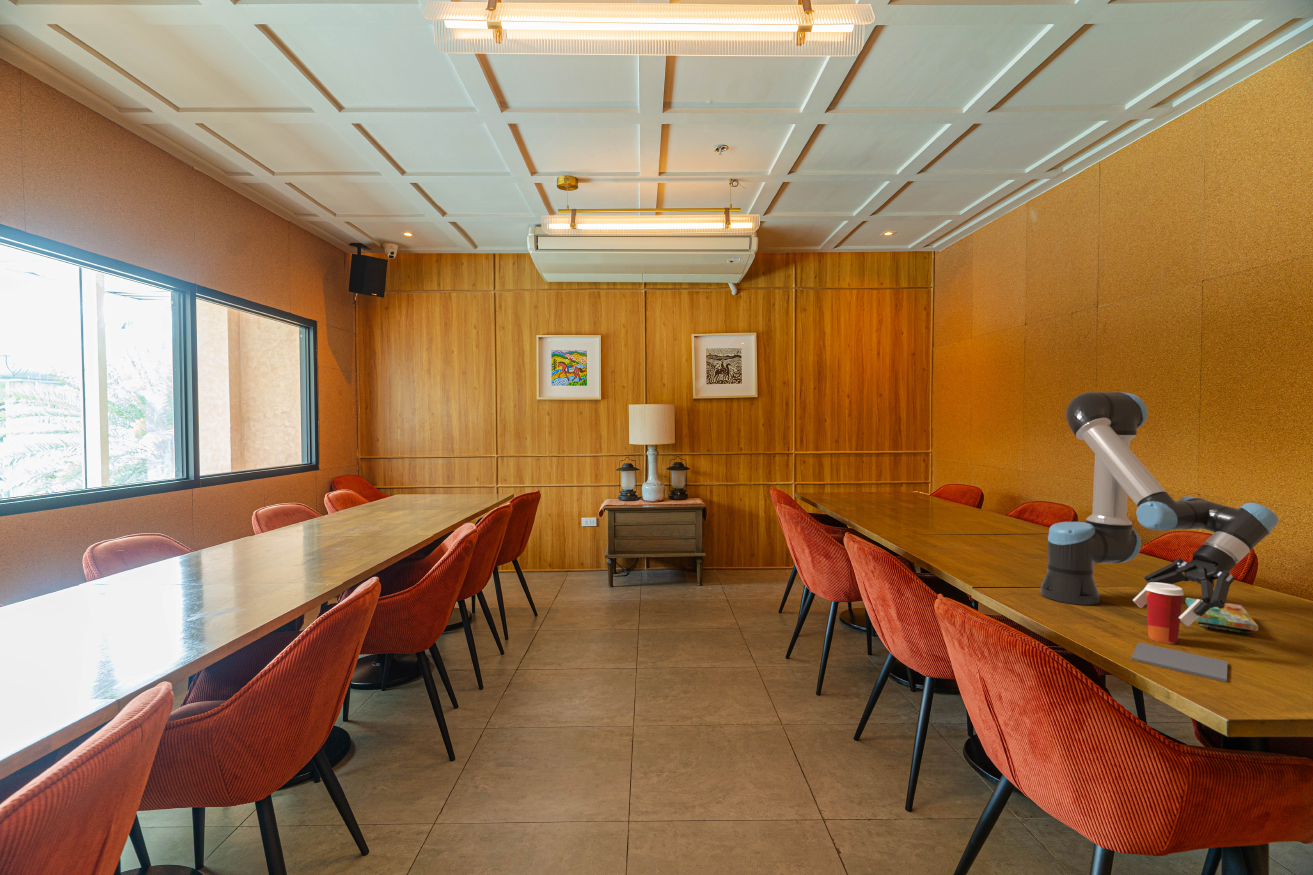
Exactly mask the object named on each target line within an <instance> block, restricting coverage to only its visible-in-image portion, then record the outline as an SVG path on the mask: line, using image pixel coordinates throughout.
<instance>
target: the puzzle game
mask: <svg viewBox="0 0 1313 875" xmlns="http://www.w3.org/2000/svg"><path fill="white" fill-rule="evenodd" d="M1197 599H1199V598H1191V597H1186V598H1185V604H1186V606H1187V609H1188V608H1189V607H1190V606H1191V605H1192V604H1193V603H1194V602H1195V601H1196V600H1197ZM1199 600H1201V601H1202V602H1203V600H1202V599H1201V598H1200V599H1199ZM1195 622H1196V623H1197V625H1198V626H1199V627H1201V626H1202V627H1203V628H1208V627H1210V628H1209V629H1214V628H1215V630H1221V629H1222V631H1227V630H1229V631H1228V632H1233V631H1234V632H1233V633H1240V632H1241V634H1246V633H1247V634H1246V635H1248V634H1250V633H1252V632H1253V631H1255V632H1256V631H1257V632H1258V631H1259V625H1258V624H1257V623H1256V622H1255V620H1254V619H1253V618H1252V617H1251V615H1250V614H1249V613H1248V612H1247V610H1246V609H1245V608H1244V607H1243V605H1242V604H1236V603H1228V602H1227V603H1226V602H1225V606H1224V608H1222V609H1219V608H1218V607H1213V608H1210V609H1209V610H1208V611H1207V612H1206V613H1205V614H1204V615H1202V616H1199V617H1198V618H1197V619H1196V620H1195Z"/></svg>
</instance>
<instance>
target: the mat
mask: <svg viewBox="0 0 1313 875" xmlns="http://www.w3.org/2000/svg"><path fill="white" fill-rule="evenodd" d="M1130 659H1133V660H1137V661H1140V662H1139V663H1142V662H1145V663H1144V664H1146V663H1147V665H1150V664H1151V665H1150V666H1155V667H1160V668H1163V667H1164V668H1165V669H1167V668H1168V670H1172V671H1177V672H1181V673H1184V674H1191V675H1194V676H1199V677H1202V678H1208V679H1212V680H1216V681H1221V682H1224V683H1227V682H1228V661H1227V660H1223V659H1218V658H1213V657H1209V656H1203V655H1199V654H1194V653H1191V652H1185V651H1181V650H1176V649H1170V648H1165V647H1161V646H1156V645H1153V644H1147V643H1144V642H1137V644H1136V647H1135V648H1134V650H1133V654H1132V655H1131V658H1130ZM1133 660H1132V661H1133ZM1137 661H1136V662H1137ZM1164 668H1163V669H1164Z"/></svg>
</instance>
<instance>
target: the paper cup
mask: <svg viewBox="0 0 1313 875" xmlns="http://www.w3.org/2000/svg"><path fill="white" fill-rule="evenodd" d="M1145 586H1146V587H1145ZM1145 586H1144V587H1145V590H1146V595H1147V603H1146V616H1147V619H1146V620H1147V634H1148V639H1149V638H1150V639H1149V640H1152V641H1153V642H1156V641H1157V642H1156V643H1160V644H1166V645H1176V644H1177V643H1178V641H1179V632H1180V624H1181V620H1180V619H1179V617H1180V616H1181V615H1182V605H1183V597H1184V595H1185V592H1184V590H1183V588H1182V587H1180V586H1178V585H1175V584H1166V583H1158V582H1150V583H1148V582H1147V584H1146V585H1145Z"/></svg>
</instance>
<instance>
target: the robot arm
mask: <svg viewBox="0 0 1313 875" xmlns="http://www.w3.org/2000/svg"><path fill="white" fill-rule="evenodd" d="M1065 410H1066V411H1065V420H1066V423H1067V425H1068V428H1069V429H1070V430H1071V432H1072V433H1073V435H1074V436H1075V437H1076V438H1077V440H1081V441H1084V442H1085V443H1086V445H1087V446H1088V447H1089V449H1091V450H1092V452H1093V453H1094V468H1093V470H1094V471H1093V490H1092V491H1093V494H1092V512H1091V513H1092V514H1090V515H1089V516H1088V517H1086V518H1085V522H1083V521H1062V522H1057V523H1056V522H1055V523H1052V525H1050V527H1049V529H1048V536H1047V570H1046V573H1045V575H1044V579H1043V581H1042V582H1041V585H1040V594H1041V595H1042V596H1043V597H1044V598H1047V599H1050V600H1053V601H1055V602H1060V603H1065V604H1071V605H1082V606H1086V605H1089V606H1090V605H1091V606H1092V605H1098V604H1099V603H1100V593H1099V589H1098V587H1097V584H1096V582H1095V578H1094V565H1099V564H1121V563H1125V562H1130V561H1132V560H1133V559H1135V558H1136V557H1137V556H1138V554H1139V553H1140V552H1141V547H1142V541H1141V540H1142V539H1141V537H1140V535H1138V531H1137V530H1136V529H1135V528H1133V521H1131V520H1130V519H1129V518H1128V517H1127V512H1128V496H1129V498H1131V500H1132V501H1133V503H1135V505H1136V507H1137V508H1136V512H1135V514H1136V516H1137V518H1136V519H1137V522H1138V523H1139V524H1140V525H1141V526H1142V527H1144V528H1145V529H1148V530H1151V531H1162V532H1163V531H1164V532H1166V531H1172V530H1173V531H1174V530H1199V529H1200V530H1201V529H1202V530H1205V531H1209V532H1213V534H1212V535H1211V536H1209V537H1208V538H1207V539H1206V540H1205V541H1204V543H1203V544H1201V545H1200V546H1199V547H1198V548H1197V549H1196V550H1195V551H1194V552H1193V554H1192V559H1191V560H1189V561H1187V562H1186V561H1185V560H1183V559H1182V557H1181V558H1180V557H1179V558H1176V559H1174V561H1173V562H1171V563H1170V564H1167V565H1166V566H1163V567H1162V568H1160V569H1157V570H1155V571H1153V572H1151V573H1150V574H1147V575H1146V576H1144V577H1143V579H1144V581H1146V582H1147V584H1148V583H1150V582H1158V583H1166V584H1172V585H1175V584H1177V583H1180V582H1189V581H1190V582H1194V583H1197V584H1199V585H1200V586H1201V597H1200V600H1199V598H1196V599H1197V600H1196V601H1195V602H1194V603H1193V604H1192V605H1191V606H1190V607H1189V608H1188V607H1187V609H1185V610H1184V612H1183V613H1181V616H1180V617H1179V619H1180V622H1182V623H1183V624H1184V625H1185V626H1187V627H1190V626H1191V625H1192V624H1193V623H1194V622H1196V619H1197V618H1198V617H1199V616H1202V615H1204V614H1205V613H1206V612H1207V611H1208V610H1209V609H1210V608H1213V607H1218V608H1219V609H1222V608H1224V606H1225V603H1226V601H1227V599H1228V598H1227V597H1228V594H1229V591H1230V586H1231V585H1232V583H1233V582H1234V580H1235V577H1234V576H1233V574H1231V573H1230V571H1232V570H1233V569H1234V568H1235V566H1236V565H1237V564H1238V563H1240V561H1242V560H1243V558H1245V557H1246V556H1247V555H1248V554H1249V553H1250V552H1251V551H1252V550H1253V548H1255V547H1256V546H1258V544H1259V543H1260V542H1261V541H1262V540H1264V538H1266V537H1267V536H1269V535H1270V534H1271V532H1272V531H1273V530H1274V529H1275V528H1276V526H1277V525H1278V523H1279V518H1278V516H1277V514H1276V513H1275V512H1274V511H1272V510H1271V509H1270V508H1268V507H1267V506H1264V505H1262V504H1259V503H1255V502H1246V503H1244V504H1242V505H1241V506H1240V507H1239V508H1236V507H1231V506H1227V505H1224V504H1221V503H1217V502H1213V501H1209V500H1207V499H1205V498H1202V497H1194V496H1191V495H1190V496H1188V495H1187V496H1183V497H1182V498H1180V499H1178V500H1174V498H1173V497H1172V496H1171V495H1170V494H1169V492H1167V491H1166V489H1165V488H1164V487H1163V486H1162V484H1160V482H1159V481H1158V480H1157V479H1156V477H1155V476H1153V474H1152V473H1151V472H1150V470H1148V469H1147V467H1146V466H1145V465H1144V464H1143V463H1142V462H1141V460H1140V459H1139V458H1138V456H1136V455H1135V453H1134V452H1133V451H1132V450H1131V447H1130V446H1131V445H1130V444H1131V440H1133V439H1135V438H1136V437H1137V433H1138V430H1137V429H1139V428H1141V427H1142V426H1143V424H1144V423H1146V421H1147V418H1148V408H1147V405H1146V404H1145V402H1144V400H1142V399H1141V398H1140V397H1139V396H1138V395H1136V394H1134V393H1130V392H1119V391H1117V392H1116V391H1114V392H1113V391H1112V392H1110V391H1107V392H1104V391H1103V392H1102V391H1101V392H1100V391H1099V392H1096V391H1087V392H1083V393H1080V394H1078V395H1076V396H1074V398H1073V399H1071V400H1070V402H1069V403H1068V405H1067V406H1066V409H1065ZM1215 581H1216V582H1215ZM1145 587H1146V585H1145V586H1144V587H1143V588H1142V589H1141V590H1140V592H1139V593H1138V594H1137V595H1136V596H1135V597H1134V598H1133V599H1132V601H1133V603H1134V604H1136V605H1137V607H1138V608H1141V609H1142V608H1144V606H1146V605H1147V595H1146V590H1145ZM1201 600H1203V602H1202V601H1201Z"/></svg>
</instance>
